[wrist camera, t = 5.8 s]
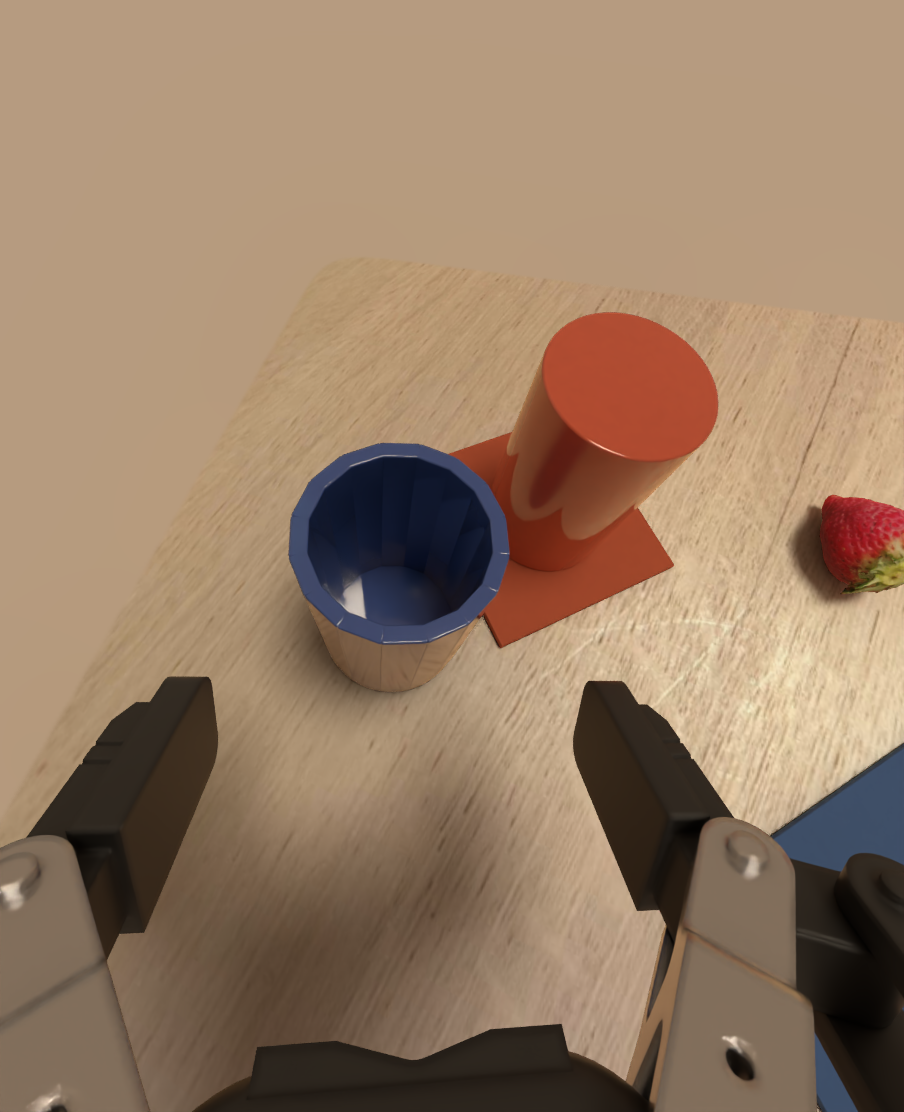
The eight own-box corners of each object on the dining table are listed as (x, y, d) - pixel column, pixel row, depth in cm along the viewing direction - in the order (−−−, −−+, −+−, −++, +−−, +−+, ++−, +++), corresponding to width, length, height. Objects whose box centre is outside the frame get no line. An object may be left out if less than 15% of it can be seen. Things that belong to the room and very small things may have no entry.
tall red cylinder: (519, 590, 24) (604, 487, 15) (463, 486, 26) (509, 335, 17) (621, 545, 26) (754, 427, 17) (563, 449, 28) (655, 294, 19)
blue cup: (355, 716, 22) (338, 683, 13) (305, 591, 24) (257, 481, 14) (481, 657, 23) (547, 589, 14) (425, 544, 25) (452, 418, 16)
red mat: (499, 648, 24) (502, 646, 23) (410, 470, 27) (411, 466, 26) (670, 567, 26) (675, 565, 26) (573, 414, 29) (575, 409, 29)
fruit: (856, 511, 29) (946, 464, 25) (879, 613, 27) (982, 582, 22) (786, 499, 29) (864, 450, 24) (803, 602, 27) (892, 569, 22)
